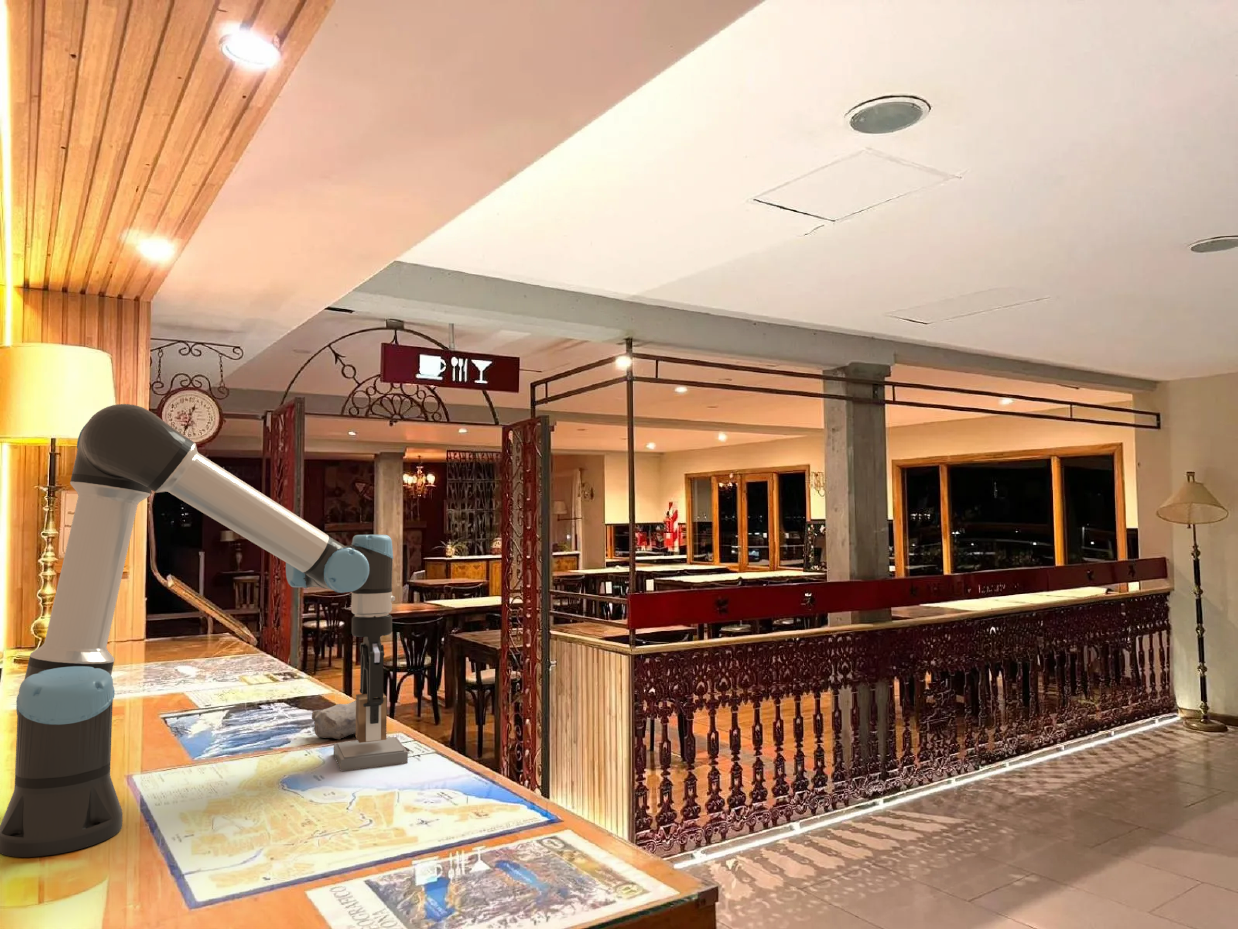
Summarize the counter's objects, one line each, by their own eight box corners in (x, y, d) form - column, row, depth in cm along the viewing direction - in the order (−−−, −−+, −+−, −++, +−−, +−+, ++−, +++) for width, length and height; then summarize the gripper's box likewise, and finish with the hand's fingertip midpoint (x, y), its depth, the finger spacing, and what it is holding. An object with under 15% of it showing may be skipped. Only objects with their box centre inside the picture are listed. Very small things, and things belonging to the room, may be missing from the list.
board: (407, 763, 158) (407, 750, 158) (340, 771, 153) (341, 758, 153) (396, 747, 169) (396, 735, 169) (333, 754, 164) (333, 742, 164)
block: (386, 739, 160) (386, 697, 161) (359, 743, 158) (359, 699, 158) (382, 733, 165) (382, 692, 165) (355, 736, 163) (355, 694, 163)
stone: (308, 737, 177) (309, 704, 178) (364, 729, 184) (365, 697, 184) (318, 746, 171) (319, 711, 171) (376, 737, 177) (377, 704, 178)
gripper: (400, 618, 156) (399, 745, 155) (384, 608, 172) (383, 724, 171) (358, 620, 153) (357, 751, 152) (346, 610, 169) (344, 728, 168)
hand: (370, 736), depth 161 cm, fingers closed on block, 5 cm apart
